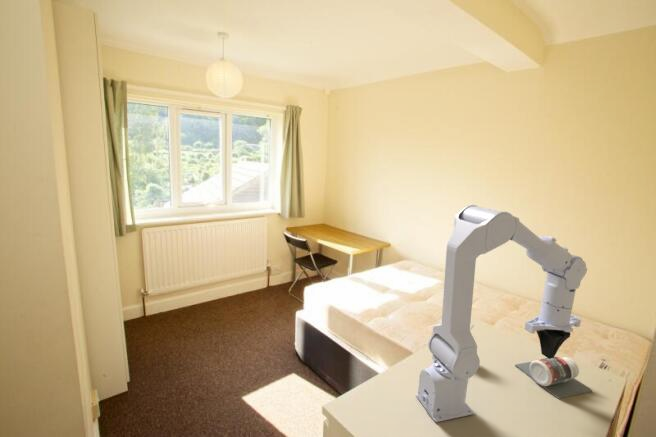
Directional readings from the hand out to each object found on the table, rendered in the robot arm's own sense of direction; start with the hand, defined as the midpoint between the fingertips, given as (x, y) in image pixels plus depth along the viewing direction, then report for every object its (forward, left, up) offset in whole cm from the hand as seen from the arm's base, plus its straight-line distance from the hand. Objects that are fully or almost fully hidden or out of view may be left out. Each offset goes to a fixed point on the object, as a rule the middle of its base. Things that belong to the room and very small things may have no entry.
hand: (547, 355), depth 75 cm
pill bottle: (-2, 0, -5) cm, 5 cm away
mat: (+5, +2, -8) cm, 9 cm away
